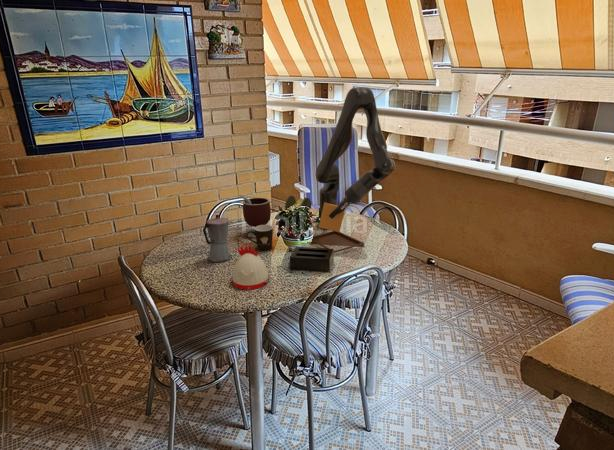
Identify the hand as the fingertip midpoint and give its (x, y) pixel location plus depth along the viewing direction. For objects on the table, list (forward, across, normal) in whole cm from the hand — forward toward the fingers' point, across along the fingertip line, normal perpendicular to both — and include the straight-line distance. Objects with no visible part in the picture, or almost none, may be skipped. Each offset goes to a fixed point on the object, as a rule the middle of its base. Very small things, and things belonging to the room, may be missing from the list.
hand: (330, 216), depth 187 cm
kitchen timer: (+28, +42, -8) cm, 51 cm away
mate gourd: (+37, -9, -18) cm, 43 cm away
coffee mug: (+32, +10, -12) cm, 35 cm away
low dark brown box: (+12, +28, +7) cm, 31 cm away
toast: (+5, 0, +4) cm, 6 cm away
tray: (+8, 0, +11) cm, 14 cm away
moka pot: (+42, +24, -23) cm, 54 cm away
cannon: (+28, -34, -9) cm, 45 cm away
